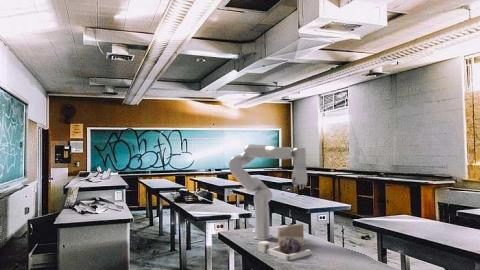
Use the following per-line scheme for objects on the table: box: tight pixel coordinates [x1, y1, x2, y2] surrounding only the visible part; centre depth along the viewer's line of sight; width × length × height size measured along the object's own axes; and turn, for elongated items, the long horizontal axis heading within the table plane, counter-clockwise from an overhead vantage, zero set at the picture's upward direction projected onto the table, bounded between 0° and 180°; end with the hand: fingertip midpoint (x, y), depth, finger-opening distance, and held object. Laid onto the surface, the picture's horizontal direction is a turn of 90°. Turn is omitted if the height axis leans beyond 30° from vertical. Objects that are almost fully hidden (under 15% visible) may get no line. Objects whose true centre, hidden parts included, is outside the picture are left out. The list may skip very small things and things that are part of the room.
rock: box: [279, 238, 302, 255], centre depth 214 cm, size 12×9×10 cm
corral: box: [266, 245, 312, 261], centre depth 214 cm, size 17×18×2 cm
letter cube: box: [257, 240, 271, 253], centre depth 222 cm, size 5×5×5 cm
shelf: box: [275, 223, 307, 247], centre depth 231 cm, size 6×20×12 cm, turn 127°
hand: (300, 195), depth 244 cm, fingers closed
